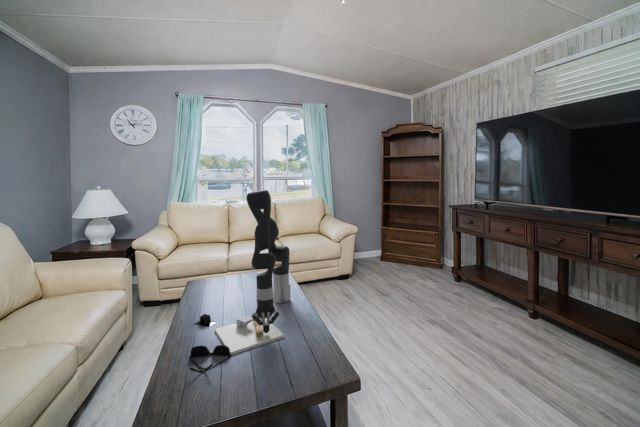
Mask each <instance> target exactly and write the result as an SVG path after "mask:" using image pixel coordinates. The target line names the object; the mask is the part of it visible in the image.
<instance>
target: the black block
mask: <svg viewBox="0 0 640 427" xmlns="http://www.w3.org/2000/svg"><path fill="white" fill-rule="evenodd" d="M211 318H212V317H211V315H210V314H205V313H203V314H201V315H200V317H199V320H198V321H196V322H195V323H194V325H195V326H202V327H205V328H211V327H212V326H213V325H215V324H216V323H217V322H216V321H212V319H211Z"/></svg>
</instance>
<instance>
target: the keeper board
mask: <svg viewBox="0 0 640 427" xmlns="http://www.w3.org/2000/svg"><path fill="white" fill-rule="evenodd" d="M266 321H267V318H265V322H266ZM266 324H267V323H266ZM262 328H263V325H262ZM214 332H215V334H216V336H217V337H218V338H219V340H220V342H221V343H222V345H224V346H227V347H229V349H230V354H231V356H232V355H235V354H238V353H241V352H244V351H247V350H250V349H253V348H257V347H259V346H262V345H265V344H268V343H270V342H273V341H277V340H280V339H283V338H284V337H285V334H284V333H283V332H282V331H281V330H280V329H279V328H277V326H275V325H274V323H273V324H270V325H269V332H268V333H265V332H263V336H260V337H256V328H255V322H254V321H253V318H252V316H248V315H245V314H243V315H242V316H239V317H238V318H236V322H235V323H232V324H229V325H225V326H221V327H217V328H214Z"/></svg>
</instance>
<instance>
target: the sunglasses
mask: <svg viewBox="0 0 640 427" xmlns="http://www.w3.org/2000/svg"><path fill="white" fill-rule="evenodd" d="M208 356H214V357H215V356H217V357H218V356H220V357H226V358H224V359H223V360H221V361H220V362H218V363H217V364H215V365H214V364H213V362H212V363H211V364H210V365H208V366H207V367H202V366H201V365H199V364H198V363H197V362H195V361H194V359H192V357H193V358H199V357H208ZM231 357H232V355H231V354H230V349H229V347H227V346H224V345H223V344H220V345H219V344H218V345H215V346H214V348H213V351H212V352H210V350H209V348H208V346H206V345H196V346H193V347H192V348H191V350H190V355H189V357H188V359H189V360H190V361H191V362H192V363H193V364H194V365H195V366H196V367H198V368H199V369H202V370H198V369H195V368H193V367H189V370H190V371H192V372H195V373H198V374H200V373H201V374H202V373H204V372H208V371H209V370H211V369H213V368H215V367H217V366H218V365H220V364H222V363H223V362H225V361H226V360H228V359H230V358H231Z"/></svg>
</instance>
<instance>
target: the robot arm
mask: <svg viewBox="0 0 640 427" xmlns="http://www.w3.org/2000/svg"><path fill="white" fill-rule="evenodd" d="M246 202H247V205H248V208H249V210H250V211H251V213H252V215H253V218H254V219H255V220H256V223H257V225H256V227H255V229H254V250H253V255H252V259H251V267H252V268H253V270H256V271H257V270H266V271H264V272H262V273H261V272H260V273H258V274H257V275H256V293H255V294H256V309H255V312H254V313H253V312H252V313H251V318H253V319H254V320H255V321H256V322H257V323H258V324H259V325H263V332H265V333H268V332H269V325H270V324H273V325H274V322H276V320H277V319H278V317H279V316H280V311H279V310H277V309H276V308H275V303H276V304H286V303H288V302H289V301H291V298H292V297H291V284H290V253H291V252H290V248H289V247H288V246H285V245H277V244H276V241H277V239H278V237H279V235H280V234H279V233H280V232H279V228H278V224H277V223H276V221H275V219H273V218H272V217H271V211H272V198H271V195H270V192H269V191H268V189H262V190H257V191H251V192H248V193H247V195H246ZM262 210H263V211H262ZM266 250H267V251H268V252H266V253H265V252H262V251H266ZM261 252H262V253H261ZM276 262H277V263H278V262H279V263H281V264H280V265H277V266H276ZM285 302H286V303H285ZM257 314H258V315H259V316H260V317H261V318H262V321H261V320H260V319H259V318H258V317H257ZM272 315H273V316H272ZM265 318H267V321H266V322H265ZM266 323H267V324H266Z"/></svg>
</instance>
